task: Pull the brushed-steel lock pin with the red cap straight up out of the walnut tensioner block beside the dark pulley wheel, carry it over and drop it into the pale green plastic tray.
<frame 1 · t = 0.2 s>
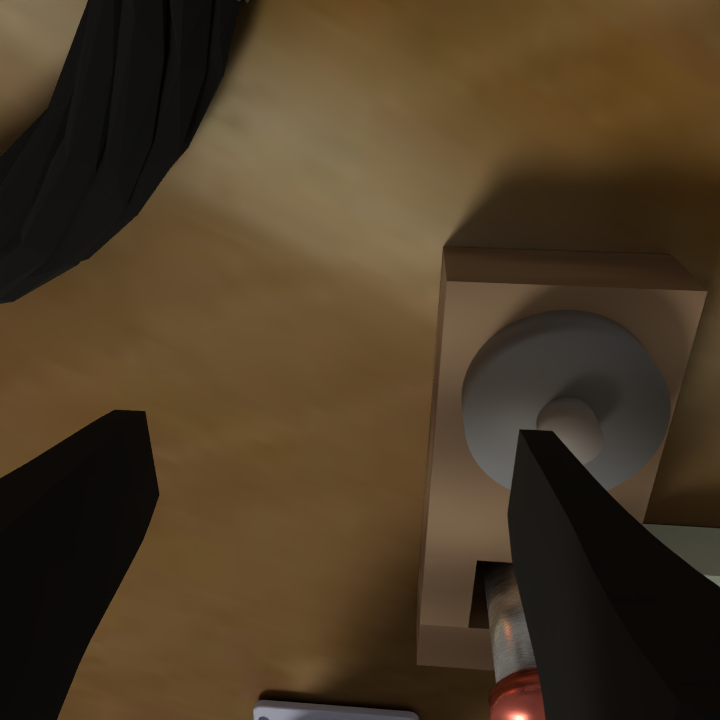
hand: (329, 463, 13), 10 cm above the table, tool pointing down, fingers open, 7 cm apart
tray: (709, 606, 27), on the table
tensioner block: (522, 457, 24), on the table
lock pin: (509, 538, 26), resting in tensioner block
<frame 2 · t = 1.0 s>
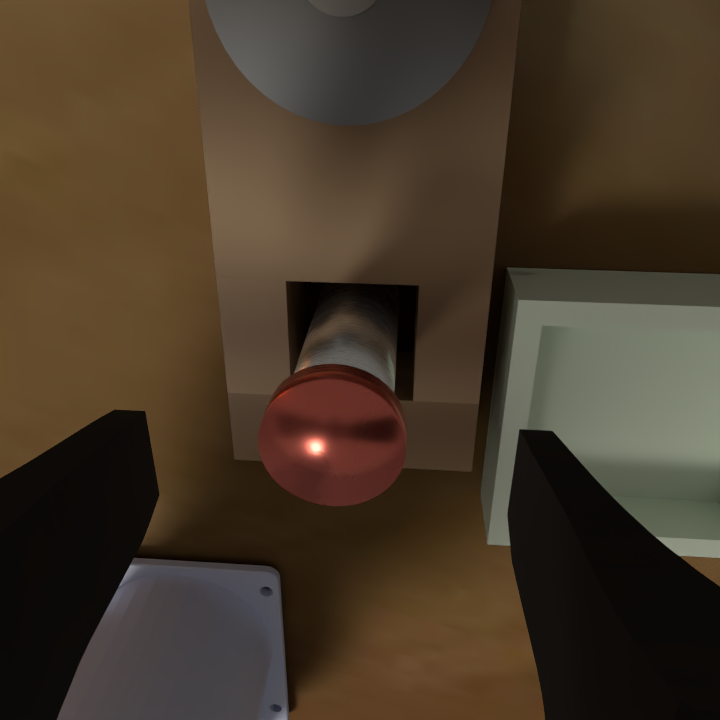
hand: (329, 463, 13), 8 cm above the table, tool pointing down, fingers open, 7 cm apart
tray: (625, 396, 21), on the table
tensioner block: (361, 166, 18), on the table
lock pin: (360, 299, 20), resting in tensioner block
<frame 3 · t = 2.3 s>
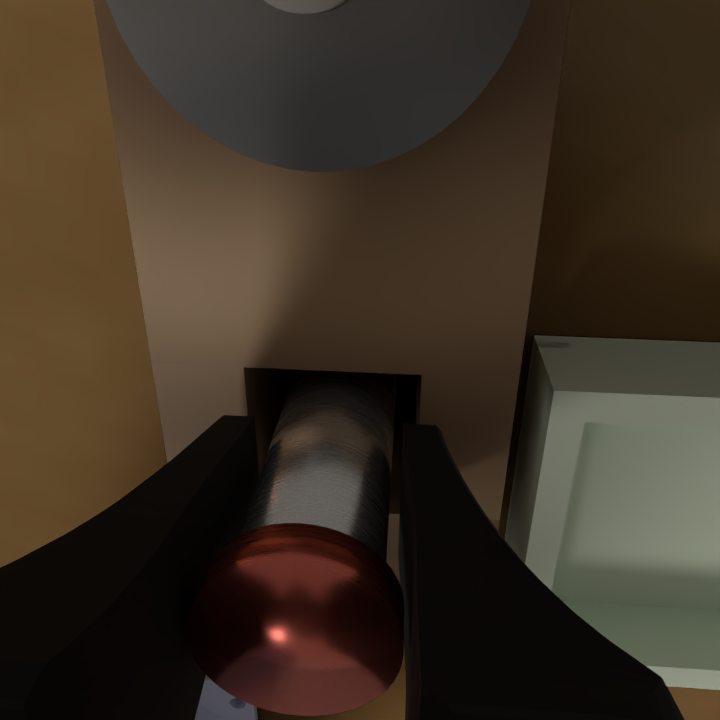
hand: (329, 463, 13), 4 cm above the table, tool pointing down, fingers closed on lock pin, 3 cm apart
tray: (679, 490, 17), on the table
tensioner block: (346, 208, 14), on the table
lock pin: (347, 372, 16), resting in tensioner block, touching gripper
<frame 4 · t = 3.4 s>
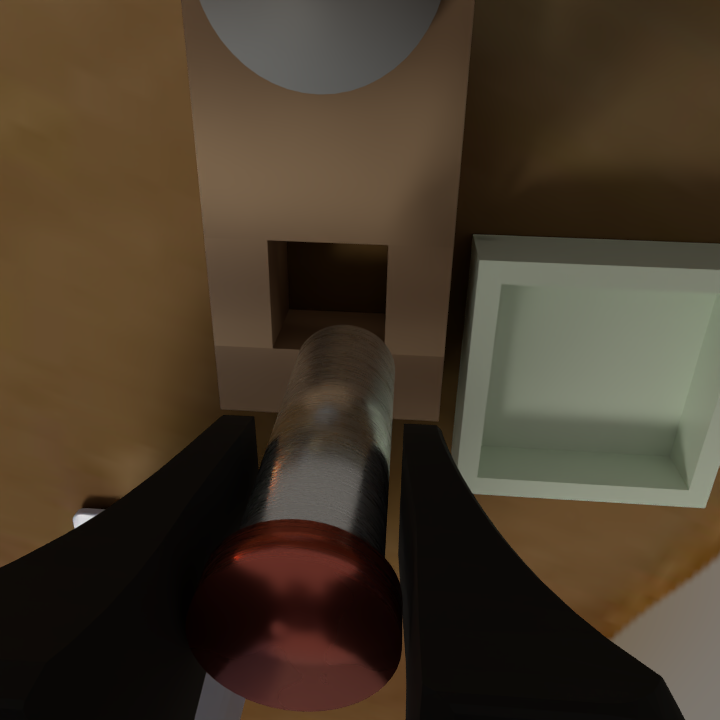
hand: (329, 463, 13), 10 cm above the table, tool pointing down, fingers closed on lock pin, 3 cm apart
tray: (583, 357, 23), on the table
tensioner block: (338, 138, 20), on the table
lock pin: (345, 369, 16), point 7 cm above the table, touching gripper
when the fingers open (6 cm above the table, at t = 4.9 s): lock pin drops 1 cm, resting on tray.
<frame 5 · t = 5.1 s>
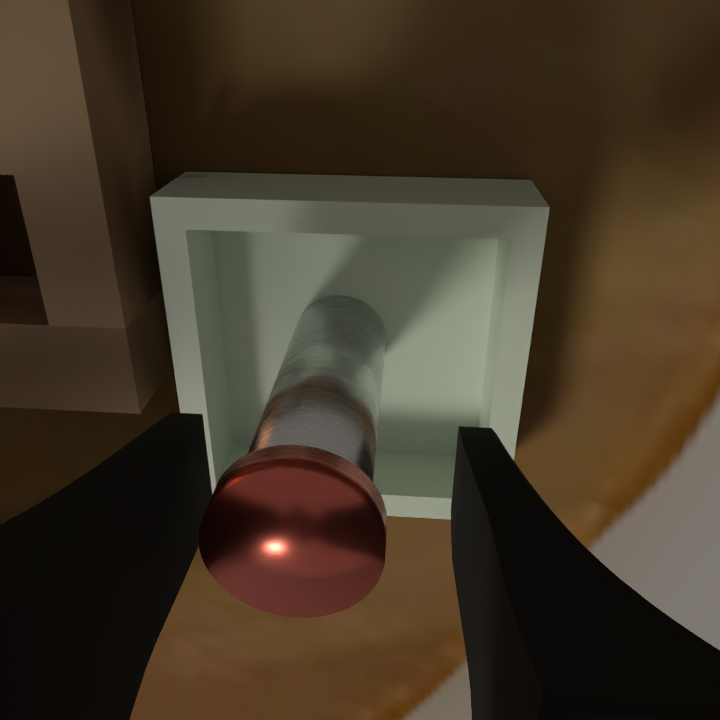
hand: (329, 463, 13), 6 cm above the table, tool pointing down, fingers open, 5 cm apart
tray: (354, 332, 18), on the table
lock pin: (340, 337, 17), point 1 cm above the table, touching tray
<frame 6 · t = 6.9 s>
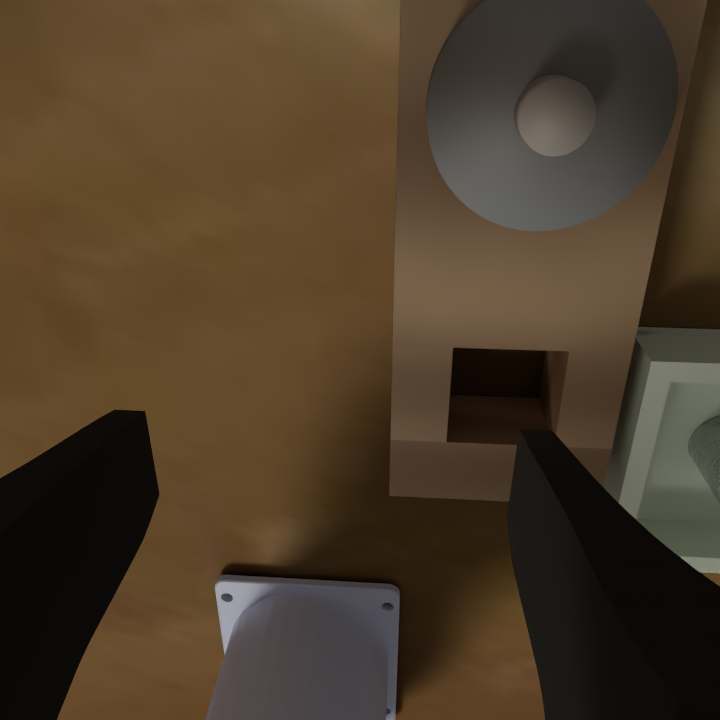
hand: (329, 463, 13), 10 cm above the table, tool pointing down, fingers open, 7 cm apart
tensioner block: (506, 243, 21), on the table
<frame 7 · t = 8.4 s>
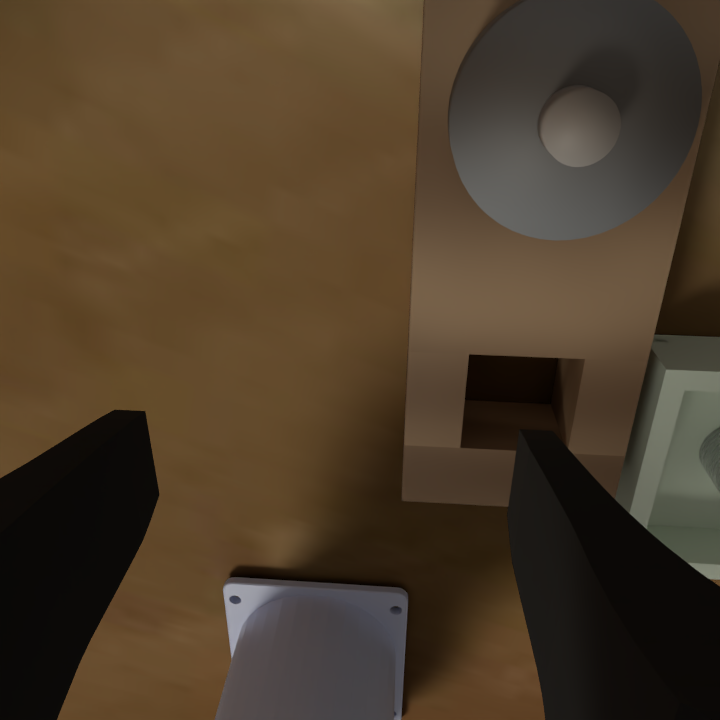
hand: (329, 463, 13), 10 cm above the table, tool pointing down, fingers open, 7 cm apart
tensioner block: (522, 249, 21), on the table
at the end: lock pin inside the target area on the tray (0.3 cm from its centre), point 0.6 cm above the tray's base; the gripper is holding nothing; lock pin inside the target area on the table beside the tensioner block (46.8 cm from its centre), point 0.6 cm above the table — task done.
